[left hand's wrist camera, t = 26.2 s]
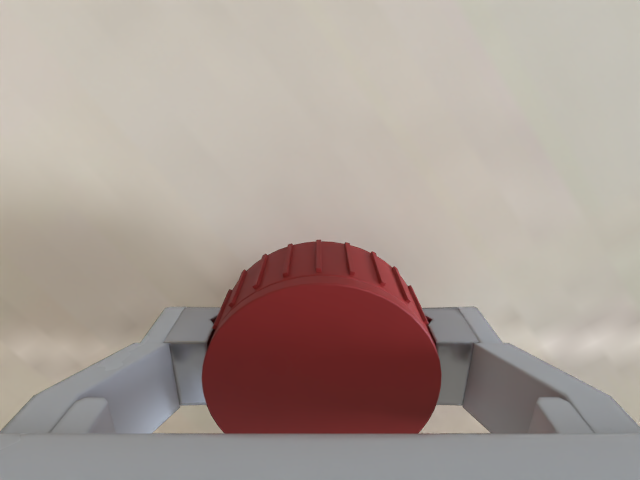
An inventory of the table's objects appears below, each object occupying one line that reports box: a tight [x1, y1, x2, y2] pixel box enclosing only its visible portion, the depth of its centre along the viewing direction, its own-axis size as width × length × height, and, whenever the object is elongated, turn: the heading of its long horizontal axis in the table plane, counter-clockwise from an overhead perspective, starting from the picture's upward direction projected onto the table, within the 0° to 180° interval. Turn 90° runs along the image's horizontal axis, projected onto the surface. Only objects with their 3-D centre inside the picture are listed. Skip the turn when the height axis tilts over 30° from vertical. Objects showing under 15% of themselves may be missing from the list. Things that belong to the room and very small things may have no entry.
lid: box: [202, 240, 442, 434], centre depth 9 cm, size 5×5×2 cm
